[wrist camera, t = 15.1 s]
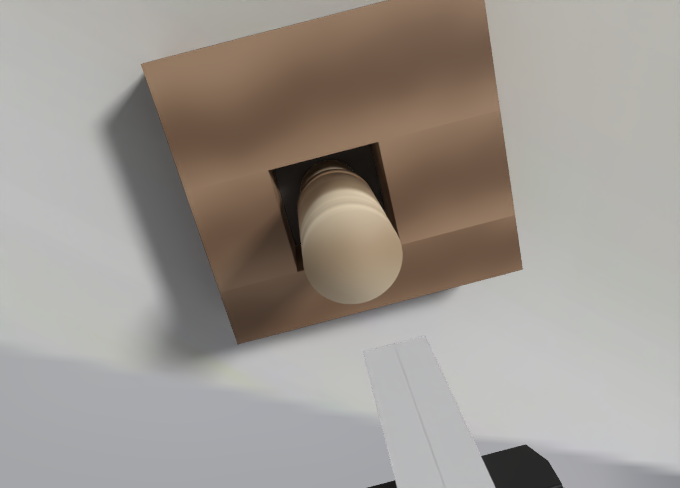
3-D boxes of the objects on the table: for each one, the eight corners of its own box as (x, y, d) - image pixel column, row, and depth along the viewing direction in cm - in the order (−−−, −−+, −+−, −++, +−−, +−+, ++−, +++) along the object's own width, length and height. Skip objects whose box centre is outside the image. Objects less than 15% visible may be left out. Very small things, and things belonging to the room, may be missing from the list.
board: (157, 59, 31) (140, 64, 27) (456, -18, 31) (480, -24, 27) (241, 311, 36) (237, 344, 33) (497, 244, 36) (522, 269, 33)
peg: (287, 164, 34) (291, 225, 23) (356, 146, 34) (391, 199, 23) (305, 230, 35) (317, 314, 25) (371, 212, 35) (411, 289, 25)
